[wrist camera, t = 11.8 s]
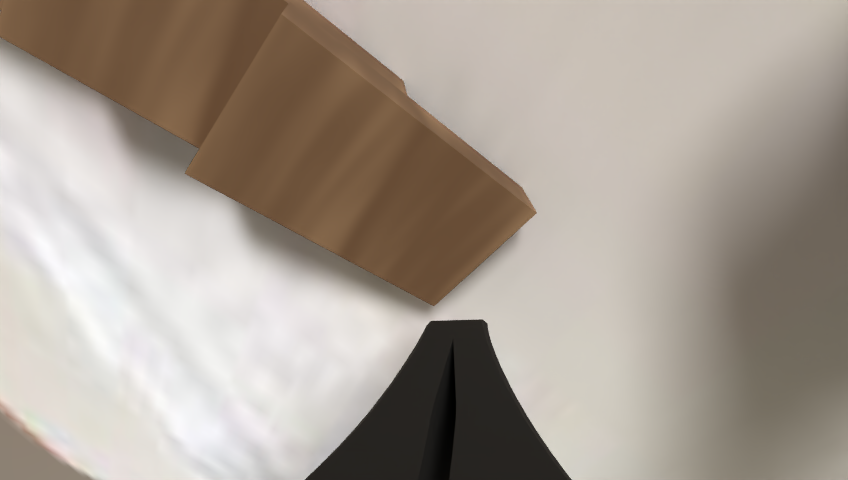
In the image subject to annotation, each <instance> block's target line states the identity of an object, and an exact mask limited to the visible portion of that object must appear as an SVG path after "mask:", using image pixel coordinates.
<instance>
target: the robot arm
mask: <svg viewBox="0 0 848 480" xmlns="http://www.w3.org/2000/svg"><path fill="white" fill-rule="evenodd" d="M305 480H571V478H570V477H569V476H568V475H567V473H566V472H565V471H564V469H563V468H562V467H561V465H560V464H559V463H558V461H557V460H556V458H555V457H554V456H553V454H552V453H551V452H550V450H549V449H548V447H547V446H546V444H545V443H544V441H543V440H542V438H541V437H540V436H539V434H538V433H537V431H536V429H535V428H534V426H533V425H532V423H531V422H530V420H529V418H528V417H527V415H526V413H525V412H524V410H523V408H522V406H521V405H520V403H519V401H518V400H517V398H516V396H515V394H514V392H513V390H512V388H511V387H510V385H509V383H508V380H507V378H506V376H505V374H504V372H503V370H502V368H501V366H500V364H499V361H498V359H497V357H496V354H495V351H494V349H493V346H492V343H491V340H490V336H489V332H488V325H487V323H486V322H485V321H484V320H450V321H431V322H430V323H429V324H428V325H427V326H426V328H425V330H424V332H423V334H422V336H421V337H420V339H419V341H418V343H417V344H416V346H415V348H414V349H413V351H412V353H411V354H410V356H409V357H408V359H407V361H406V362H405V364H404V365H403V366H402V368H401V369H400V371H399V372H398V374H397V375H396V377H395V378H394V380H393V381H392V383H391V384H390V385H389V387H388V388H387V389H386V391H385V392H384V393H383V395H382V396H381V397H380V399H379V400H378V401H377V402H376V404H375V405H374V406H373V408H372V409H371V410H370V412H369V413H368V414H367V415H366V416H365V418H364V419H363V420H362V421H361V422H360V423H359V425H358V426H357V427H356V428H355V429H354V430H353V431H352V433H351V434H350V435H349V436H348V437H347V438H346V439H345V440H344V441H343V442H342V443H341V445H340V446H339V447H338V448H337V449H336V450H335V451H334V452H333V453H332V454H331V455H330V456H329V457H328V458H327V459H326V460H325V461H324V462H323V463H322V464H321V465H320V466H319V467H318V468H317V469H316V470H315V471H314V472H312V473H311V474H310V475H309V476H308V477H307V478H306V479H305Z"/></svg>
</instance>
